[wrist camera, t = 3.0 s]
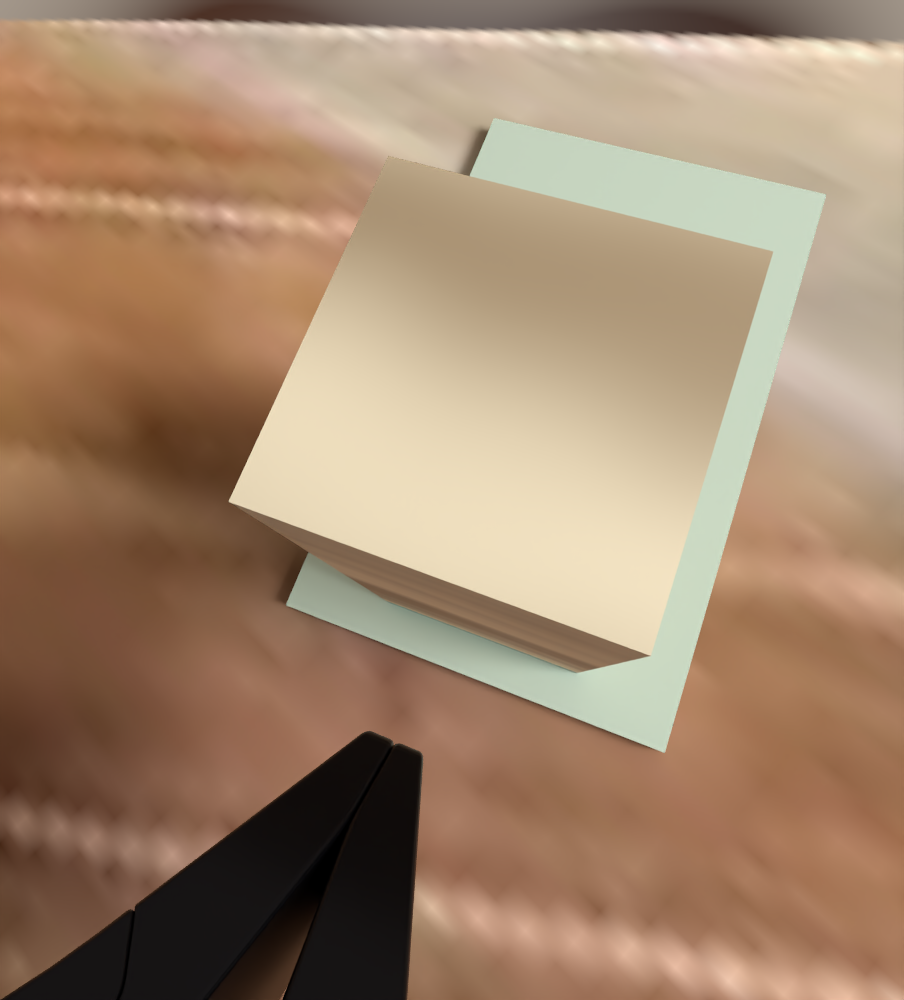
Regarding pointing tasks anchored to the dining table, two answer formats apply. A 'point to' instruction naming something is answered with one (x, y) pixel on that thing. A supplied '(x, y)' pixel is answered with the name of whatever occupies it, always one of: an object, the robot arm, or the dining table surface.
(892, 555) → the dining table surface
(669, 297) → the maple block
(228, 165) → the dining table surface
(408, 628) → the mat
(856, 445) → the dining table surface
